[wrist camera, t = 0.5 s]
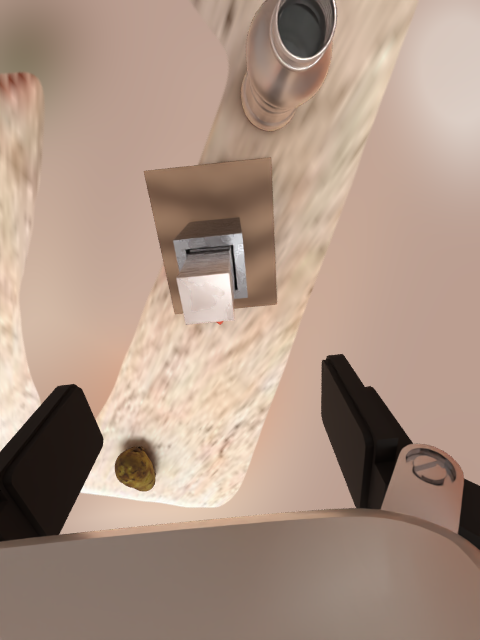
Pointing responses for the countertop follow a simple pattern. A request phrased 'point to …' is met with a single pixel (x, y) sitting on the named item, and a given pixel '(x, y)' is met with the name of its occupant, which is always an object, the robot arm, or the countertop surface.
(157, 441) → the countertop surface
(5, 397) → the countertop surface
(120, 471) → the potato
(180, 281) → the steel post
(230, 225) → the stand
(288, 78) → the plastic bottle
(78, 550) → the robot arm
